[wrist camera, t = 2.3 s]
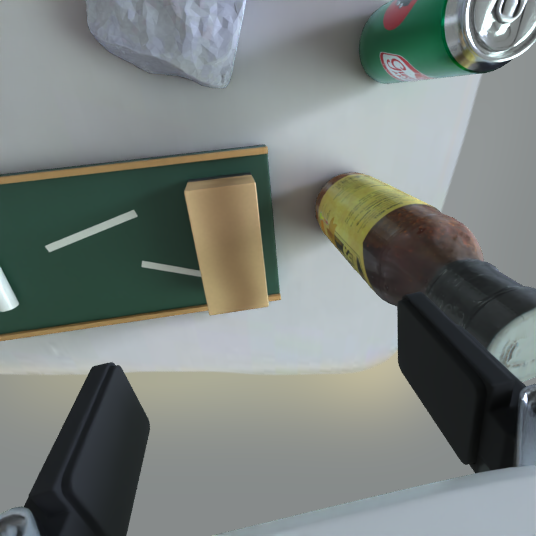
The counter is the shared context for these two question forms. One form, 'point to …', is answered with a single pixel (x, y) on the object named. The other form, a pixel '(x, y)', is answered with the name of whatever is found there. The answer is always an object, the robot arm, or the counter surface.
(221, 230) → the eraser
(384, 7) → the soda can
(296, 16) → the counter surface
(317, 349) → the counter surface
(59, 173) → the chalkboard
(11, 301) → the chalk stick
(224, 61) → the stone block
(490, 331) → the sauce bottle
